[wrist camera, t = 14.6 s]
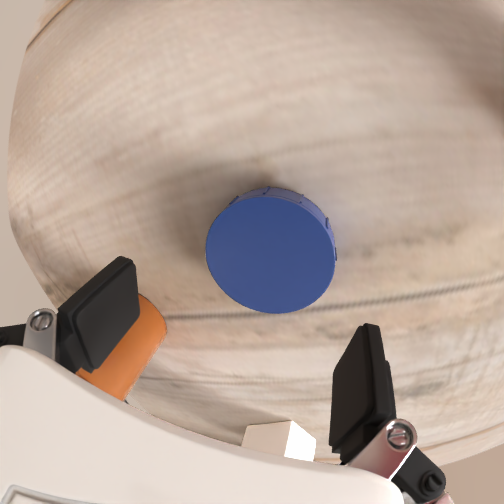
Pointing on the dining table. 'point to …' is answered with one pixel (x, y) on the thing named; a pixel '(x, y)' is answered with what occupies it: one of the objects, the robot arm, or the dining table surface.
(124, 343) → the jar
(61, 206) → the dining table surface
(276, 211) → the jar lid
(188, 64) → the dining table surface
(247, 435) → the milk
